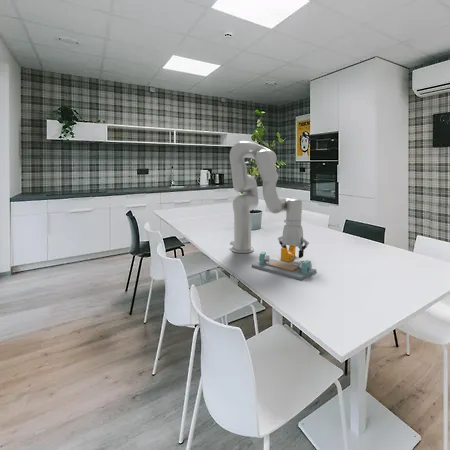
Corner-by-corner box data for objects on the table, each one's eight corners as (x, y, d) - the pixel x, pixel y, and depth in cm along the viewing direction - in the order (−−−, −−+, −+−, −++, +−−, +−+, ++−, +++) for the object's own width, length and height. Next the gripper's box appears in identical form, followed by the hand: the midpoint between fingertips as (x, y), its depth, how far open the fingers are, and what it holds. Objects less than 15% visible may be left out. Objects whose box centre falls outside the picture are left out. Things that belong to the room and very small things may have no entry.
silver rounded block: (297, 270, 135) (297, 263, 135) (300, 268, 138) (300, 261, 137) (306, 272, 132) (306, 265, 132) (309, 270, 135) (310, 264, 134)
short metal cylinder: (259, 261, 147) (259, 255, 147) (260, 260, 150) (260, 254, 149) (268, 262, 146) (268, 256, 145) (269, 260, 149) (269, 254, 148)
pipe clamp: (288, 262, 154) (289, 249, 153) (280, 260, 157) (281, 248, 155) (298, 256, 164) (298, 244, 162) (290, 255, 166) (291, 243, 165)
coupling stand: (251, 267, 146) (251, 254, 145) (268, 260, 156) (268, 248, 155) (300, 280, 129) (301, 266, 127) (316, 272, 139) (317, 258, 138)
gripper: (274, 222, 159) (274, 254, 162) (305, 226, 147) (304, 260, 150) (282, 220, 164) (281, 251, 167) (312, 224, 153) (311, 257, 156)
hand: (292, 255), depth 159 cm, fingers open, 9 cm apart
